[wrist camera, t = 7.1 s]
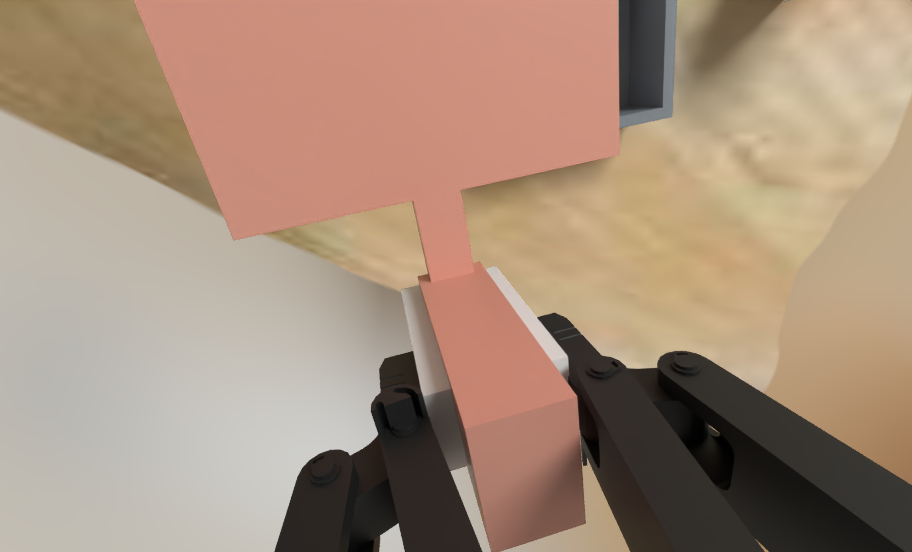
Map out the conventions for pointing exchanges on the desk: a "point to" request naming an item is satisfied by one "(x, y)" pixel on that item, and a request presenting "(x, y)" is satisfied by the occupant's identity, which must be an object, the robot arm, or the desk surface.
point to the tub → (646, 60)
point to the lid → (414, 175)
